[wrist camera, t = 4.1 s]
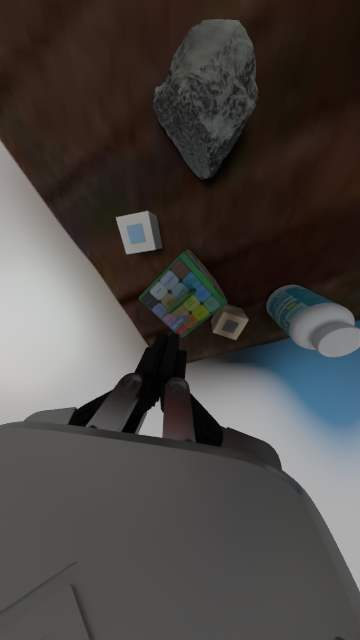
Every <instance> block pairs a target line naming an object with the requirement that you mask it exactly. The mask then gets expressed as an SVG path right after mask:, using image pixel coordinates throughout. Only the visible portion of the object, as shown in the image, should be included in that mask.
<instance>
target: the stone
mask: <svg viewBox="0 0 360 640" xmlns="http://www.w3.org/2000/svg"><path fill="white" fill-rule="evenodd" d="M255 64H256V61H255V56H254V49H253V44H252V43H251V41H250V38H249V37H248V36H247V33H246V30H245V28H244V27H243V26H242V25H241V24H240V22H239V21H238V20H229V19H228V20H223V19H215V20H206V21H202V22H200V23H199V24H198V25H196V26H193V27H192V28H191V29H190V30H189V32H188V33H187V35H186V36H185V38H184V39H183V42H182V44H181V45H180V46H179V48H178V49H177V51H176V52H175V55H174V56H173V60H172V64H171V66H170V67H169V69H168V75H167V77H166V79H165V81H164V83H163V84H162V85H161V86H160V87H156V89H155V97H154V101H153V109H154V112H155V114H156V115H157V117H158V119H159V122H160V124H161V125H162V126H163V127H164V129H165V130H166V132H167V135H168V136H169V137H170V138H171V140H172V141H173V142H174V144H175V146H176V147H177V148H178V150H179V152H180V153H181V155H182V156H183V158H184V160H185V162H186V163H187V165H188V166H189V168H190V169H191V170H192V171H193V172H194V173H195V174H196V175H197V176H198V177H199V178H200V179H201V180H204V179H205V178H207V179H208V178H210V177H212V176H214V174H215V173H216V172H217V171H218V169H219V167H220V165H221V163H222V161H223V159H224V158H225V157H226V156H227V155H228V153H229V152H230V151H231V149H232V147H233V146H234V144H235V142H236V140H237V139H238V137H239V136H240V134H241V132H242V130H243V128H244V126H245V124H246V122H247V120H248V119H249V117H250V115H251V113H252V111H253V109H254V107H255V106H256V105H257V103H258V101H259V98H258V89H257V86H256V83H255V75H256V66H255Z"/></svg>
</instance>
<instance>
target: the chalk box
mask: <svg viewBox="0 0 360 640" xmlns="http://www.w3.org/2000/svg"><path fill="white" fill-rule="evenodd" d="M139 300H140V301H141V302H142V303H143V304H145V305H146V306H147V307H148V308H149V309H150V310H151V311H152V312H153V313H154V314H155V315H156V316H158V317H159V318H160V319H161V320H162V321H163V322H164V323H165V324H166V325H168V327H170V328H171V329H172V330H173V331H174V332H175V333H177V334H179V337H180V338H183V337H184V336H185V335H187V334H188V333H190V332H191V331H192V330H194V329H195V328H196V327H198V326H199V325H200V324H202V323H203V322H204V321H205V320H207V319H208V318H209V317H211V316H212V315H213V314H214V313H216V312H217V311H218V310H220V309H221V308H222V307H224V306H225V305H226V304H227V303H228V302H227V300H226V298H225V296H224V294H223V292H222V290H221V288H220V286H219V285H218V283H217V281H216V280H215V279H214V277H213V276H212V275H211V274H210V272H209V271H208V270H207V269H206V268H205V266H204V265H203V264H202V263H201V262H200V260H199V259H198V258H197V257H196V256H195V255H194V253H193V252H192V251H191V250H190V249H187V250H185V251H184V252H182V253H181V254H180V255H179V256H178V257H177V258H176V260H175V261H174V262H173V263H172V264H171V265H170V266H169V267H168V268H167V269H166V270H165V271H164V272H163V273H162V274H161V275H160V276H159V277H158V278H157V279H156V280H155V281H154V282H153V283H152V284H151V285H150V286H149V287H148V288H147V289H146V290H145V291H144V292H143V294H142V295H141V296H140V297H139Z"/></svg>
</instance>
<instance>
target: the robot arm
mask: <svg viewBox="0 0 360 640" xmlns="http://www.w3.org/2000/svg"><path fill="white" fill-rule="evenodd" d="M186 358H187V351H184V350H179V334H177V333H172V335H169V338H168V334H166V333H165V332H158V334H157V337H156V339H155V341H154V344H153V346H152V347H147V348H146V349H145V352H144V354H143V356H142V358H141V360H140V362H139V364H138V366H137V368H136V370H135V373H129V374H127V375H125V376H124V377H123V378H121V380H120V381H119V382H118V384H117V385H116V386H115V388H114V389H113V390H111V391H109V392H107V393H105V394H104V395H102V396H100V397H98V398H96V399H95V400H93V401H91V402H89V403H87V404H85V405H84V406H82V407H80V408H79V409H77V408H76V407H72V408H64V409H55V410H46V411H40V412H36V413H34V414H32V415H30V416H29V417H28V418H26V419H25V420H24V421H22V422H12V423H7V424H3V425H0V640H360V592H359V589H358V587H357V585H356V583H355V581H354V579H353V577H352V574H351V572H350V570H349V568H348V566H347V564H346V562H345V560H344V558H343V556H342V554H341V552H340V550H339V548H338V546H337V544H336V542H335V540H334V538H333V536H332V534H331V533H330V530H329V528H328V526H327V525H326V523H325V521H324V519H323V517H322V516H321V514H320V512H319V511H318V509H317V507H316V506H315V504H314V502H313V501H312V499H311V498H310V497H309V495H308V494H307V493H306V491H305V490H304V489H303V488H302V487H301V486H300V485H299V484H298V483H297V482H296V481H295V480H294V479H293V478H292V477H290V476H289V475H288V474H286V473H285V472H284V471H283V470H282V467H281V462H280V459H279V457H278V454H277V453H276V451H275V450H274V448H272V446H270V445H269V444H268V443H266V442H264V441H262V440H260V439H257V438H255V437H252V436H249V435H247V434H244V433H242V432H239V431H237V430H234V429H231V428H229V427H227V428H224V427H222V426H220V425H219V424H218V422H217V421H216V420H215V419H214V418H213V417H212V416H211V415H210V414H209V413H208V411H207V410H206V409H205V408H204V407H203V406H202V405H201V404H200V403H199V402H198V401H197V400H196V399H195V398H194V396H193V395H192V394H191V393H190V389H189V385H188V383H187V382H186V381H185V370H186ZM159 398H160V402H161V410H162V412H163V413H164V418H163V419H164V420H163V438H159V437H152V436H145V435H138V433H139V430H140V428H141V426H142V424H143V421H144V419H145V417H146V414H147V410H149V409H151V407H152V406H155V403H156V402H158V401H159Z"/></svg>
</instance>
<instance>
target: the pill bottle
mask: <svg viewBox="0 0 360 640" xmlns="http://www.w3.org/2000/svg"><path fill="white" fill-rule="evenodd" d="M266 308H267V312H268V313H269V315H270V316H271V317H272V318H273V319H274V320H275V321H276V323H277V324H278V325H279V326H280V327H281V328H282V329H283V330H284V331H285V332H286V333H287V334H288V336H289V337H290V338H291V339H292V340H293V341H294V342H295V343H296V344H297V345H299V346H301V347H304V348H307V349H313V350H317V351H318V352H320V353H321V354H322V355H325V356H328V357H339V356H343V355H346V354H349V353H351V352H353V351H355V350H356V349H357V348H359V347H360V329H358V328H357V327H355V326H354V323H355V322H354V317H353V315H352V313H351V312H350V311H349V310H348V309H347V308H345V307H343V306H341V305H339V304H337V303H335V302H333V301H331V300H328V299H326V298H324V297H322V296H320V295H318V294H316V293H314V292H312V291H310V290H308V289H306V288H303V287H301V286H298V285H287V286H283V287H281V288H279V289H277V290H276V291H274V292H273V293H272V294H271V295H270V297H269V298H268V301H267V304H266Z"/></svg>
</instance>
